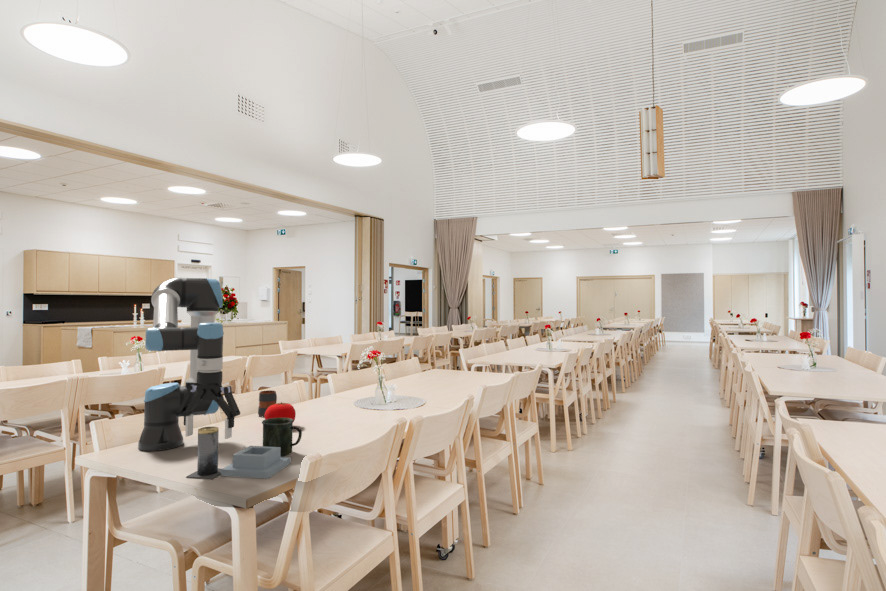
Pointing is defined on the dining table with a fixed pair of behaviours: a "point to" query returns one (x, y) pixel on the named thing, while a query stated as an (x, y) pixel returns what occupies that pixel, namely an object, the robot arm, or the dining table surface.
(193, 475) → the mat
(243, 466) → the housing
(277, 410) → the tomato
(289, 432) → the mug
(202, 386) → the robot arm
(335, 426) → the dining table surface
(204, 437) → the grey canister
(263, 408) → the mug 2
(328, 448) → the dining table surface
